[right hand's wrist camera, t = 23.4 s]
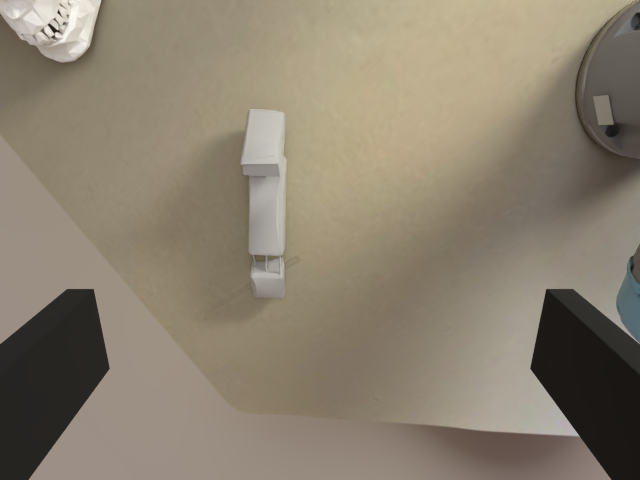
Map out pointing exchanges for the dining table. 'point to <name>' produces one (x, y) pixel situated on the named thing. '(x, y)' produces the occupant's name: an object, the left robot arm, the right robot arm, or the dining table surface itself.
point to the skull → (39, 10)
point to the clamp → (266, 199)
